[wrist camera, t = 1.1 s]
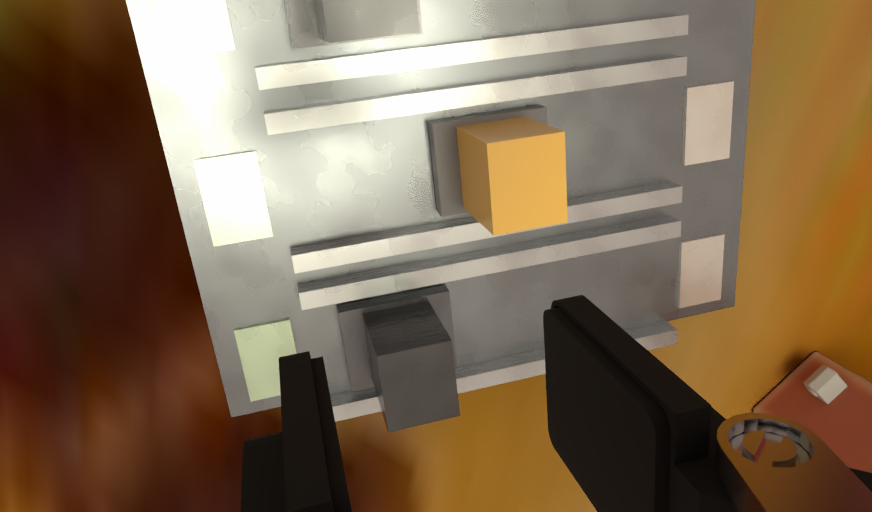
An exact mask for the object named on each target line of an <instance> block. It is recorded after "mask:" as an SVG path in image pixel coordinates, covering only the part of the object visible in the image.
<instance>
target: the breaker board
mask: <svg viewBox="0 0 872 512" xmlns="http://www.w3.org/2000/svg"><path fill="white" fill-rule="evenodd" d="M755 1H756V0H126V3H127V7H128V11H129V15H130V19H131V22H132V26H133V30H134V34H135V38H136V42H137V46H138V50H139V54H140V58H141V62H142V66H143V70H144V74H145V78H146V82H147V86H148V90H149V94H150V98H151V102H152V105H153V109H154V113H155V117H156V121H157V125H158V129H159V133H160V137H161V141H162V145H163V149H164V153H165V157H166V161H167V165H168V169H169V173H170V177H171V181H172V184H173V188H174V192H175V196H176V200H177V204H178V208H179V212H180V216H181V220H182V224H183V228H184V232H185V236H186V240H187V244H188V248H189V252H190V256H191V260H192V263H193V267H194V271H195V275H196V279H197V283H198V287H199V291H200V295H201V299H202V303H203V307H204V311H205V315H206V319H207V323H208V327H209V331H210V335H211V339H212V343H213V346H214V350H215V354H216V358H217V362H218V366H219V370H220V374H221V378H222V382H223V386H224V390H225V394H226V398H227V402H228V406H229V410H230V414H231V417H235V416H239V415H244V414H249V413H253V412H258V411H262V410H267V409H271V408H276V407H280V406H281V394H280V376H279V357H283V356H288V355H292V354H297V353H302V352H307V351H310V356H311V359H313V358H318V357H322V356H323V360H324V365H325V370H326V376H327V381H328V387H329V392H330V397H331V403H332V408H333V413H334V419H335V422H336V421H340V420H345V419H349V418H354V417H358V416H362V415H367V414H371V413H375V412H380V411H382V413H383V417H384V420H385V423H386V426H387V430H388V432H392V431H397V430H401V429H405V428H409V427H414V426H418V425H422V424H426V423H431V422H435V421H439V420H443V419H448V418H452V417H456V416H460V412H459V402H458V394H459V393H463V392H467V391H472V390H476V389H480V388H485V387H489V386H494V385H498V384H502V383H507V382H511V381H515V380H520V379H524V378H529V377H533V376H537V375H542V374H546V370H545V349H544V327H543V314H544V311H545V310H547V309H551V304H552V302H553V301H554V300H559V299H564V298H568V297H573V296H578V295H583V296H585V297H586V298H587V299H589V300H590V301H591V302H592V303H593V304H594V305H596V306H597V307H598V308H599V309H600V310H601V311H602V312H604V313H605V314H606V315H607V316H608V317H609V318H611V319H612V320H613V321H614V322H615V323H616V324H618V325H619V326H620V327H621V328H622V329H623V330H624V331H626V332H627V333H628V334H629V335H630V336H631V337H633V338H634V339H635V340H636V341H637V342H638V343H640V344H641V345H642V346H643V347H644V348H645V349H646V350H651V349H655V348H660V347H664V346H669V345H673V344H677V329H676V328H675V327H673V326H672V325H671V324H669V323H668V322H667V321H670V320H675V319H679V318H684V317H688V316H693V315H697V314H702V313H706V312H711V311H715V310H720V309H724V308H729V307H733V306H734V303H735V289H736V275H737V260H738V246H739V231H740V217H741V203H742V188H743V174H744V159H745V145H746V131H747V116H748V102H749V88H750V73H751V59H752V44H753V30H754V16H755ZM534 105H542V106H545V107H547V122H548V125H549V126H552V127H554V128H557V129H560V130H562V131H565V152H566V185H567V218H568V222H566V223H561V224H555V225H550V226H544V227H539V228H533V229H528V230H522V231H517V232H512V233H506V234H501V235H495V236H493V235H492V234H491V233H490V232H489V231H488V230H487V229H486V228H485V227H484V226H483V225H482V224H480V223H479V222H478V221H477V220H476V219H475V218H474V217H473V216H472V215H471V214H470V213H469V212H468V213H462V214H456V215H451V216H445V217H441V216H440V215H439V213H438V212H437V205H436V195H435V186H434V176H433V167H432V157H431V148H430V138H429V129H428V121H431V120H438V119H445V118H452V117H459V116H466V115H473V114H479V113H486V112H493V111H500V110H507V109H514V108H521V107H528V106H534Z"/></svg>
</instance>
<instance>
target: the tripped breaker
mask: <svg viewBox="0 0 872 512" xmlns="http://www.w3.org/2000/svg"><path fill="white" fill-rule="evenodd" d="M428 129H429V138H430V148H431V157H432V167H433V176H434V186H435V195H436V205H437V212H438V213H439V215H440V216H441V217H445V216H451V215H456V214H462V213H468V212H469V213H470V214H471V215H472V216H473V217H474V218H475V219H476V220H477V221H478V222H479V223H480V224H482V225H483V226H484V227H485V228H486V229H487V230H488V231H489V232H490V233H491V234H492V235H493V236H495V235H501V234H506V233H512V232H517V231H522V230H528V229H533V228H539V227H544V226H550V225H555V224H561V223H566V222H568V218H567V185H566V152H565V131H562V130H560V129H557V128H554V127H552V126H549V125H548V122H547V107H545V106H542V105H534V106H528V107H521V108H514V109H507V110H500V111H493V112H486V113H479V114H473V115H466V116H459V117H452V118H445V119H438V120H431V121H428Z"/></svg>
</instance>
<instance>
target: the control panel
mask: <svg viewBox="0 0 872 512" xmlns="http://www.w3.org/2000/svg"><path fill="white" fill-rule="evenodd" d="M753 412H754V413H765V414H772V415H778V416H781V417H784V418H788V419H791V420H794V421H796V422H798V423H800V424H802V425H804V426H806V427H808V428H809V429H810V430H811V431H813V432H814V433H815V434H816V435H818V436H819V437H820V438H821V439H822V440H823V441H824V443H825V444H826V445H827V446H828V447H829V448H830V449H831V450H832V451H833V452H834V453H835V454H836V455H837V456H838V457H839V458H840V459H841V460H842V461H843V462H844V464H845V465H846V466H847V467H848V468H853V469H857V470H861V471H866V472H870V473H872V383H870V382H869V381H867V380H865V379H864V378H862V377H860V376H859V375H857V374H854V373H852V372H850V371H849V370H847V369H845V368H844V367H842V366H841V365H839V364H837V363H836V362H834V361H832V360H831V359H829V358H827V357H826V356H824V355H822V354H821V353H818V352H814V353H812V354H811V355H810V356H809V357H808V358H807V359H806V360H805V361H804V362H803V363H802V364H801V365H799V366H798V367H797V368H796V369H795V370H794V371H793V372H792V373H791V374H790V375H789V376H788V377H787V378H786V379H784V380H783V381H782V382H781V383H780V384H779V385H778V386H777V387H776V388H775V389H774V390H773V391H772V392H771V393H769V394H768V395H767V396H766V397H765V398H764V399H763V400H762V401H761V402H760V403H759V404H758V405H757V406H756V407H754V409H753Z"/></svg>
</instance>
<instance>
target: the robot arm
mask: <svg viewBox="0 0 872 512" xmlns="http://www.w3.org/2000/svg"><path fill="white" fill-rule="evenodd" d="M543 327H544V349H545V370H546V391H547V412H548V430H549V435H550V439H551V442H552V444H553V446H554V448H555V450H556V451H557V453H558V454H559V456H560V457H561V459H562V460H563V462H564V463H565V465H566V466H567V467H568V469H569V470H570V472H571V473H572V475H573V476H574V478H575V479H576V481H577V482H578V484H579V485H580V487H581V488H582V489H583V491H584V492H585V494H586V495H587V497H588V498H589V500H590V501H591V503H592V504H593V506H594V507H595V509H596V510H597V512H872V473H870V472H866V471H861V470H857V469H853V468H848V467H847V466H846V465H845V464H844V462H843V461H842V460H841V459H840V458H839V457H838V456H837V455H836V454H835V453H834V452H833V451H832V450H831V449H830V448H829V447H828V446H827V445H826V444H825V443H824V441H823V440H822V439H821V438H820V437H819V436H818V435H816V434H815V433H814V432H813V431H811V430H810V429H809V428H808V427H806V426H804V425H802V424H800V423H798V422H796V421H794V420H791V419H788V418H784V417H781V416H778V415H772V414H765V413H745V414H741V415H736V416H732V417H731V418H729V419H727V420H726V419H725V418H724V417H723V416H721V415H720V414H719V413H718V412H717V411H716V410H714V409H713V408H712V407H711V405H710V404H709V403H708V402H707V401H706V400H704V399H703V398H702V397H701V396H700V395H699V394H697V393H696V392H695V391H694V390H693V389H692V388H690V387H689V386H688V385H687V384H686V383H685V382H684V381H682V380H681V379H680V378H679V377H678V376H677V375H675V374H674V373H673V372H672V371H671V370H670V369H668V368H667V367H666V366H665V365H664V364H663V363H662V362H660V361H659V360H658V359H657V358H656V357H655V356H653V355H652V354H651V353H650V352H649V351H648V350H646V349H645V348H644V347H643V346H642V345H641V344H640V343H638V342H637V341H636V340H635V339H634V338H633V337H631V336H630V335H629V334H628V333H627V332H626V331H624V330H623V329H622V328H621V327H620V326H619V325H618V324H616V323H615V322H614V321H613V320H612V319H611V318H609V317H608V316H607V315H606V314H605V313H604V312H602V311H601V310H600V309H599V308H598V307H597V306H596V305H594V304H593V303H592V302H591V301H590V300H589V299H587V298H586V297H585V296H583V295H578V296H573V297H568V298H564V299H559V300H554V301H553V302H552V304H551V309H547V310H545V311H544V314H543ZM279 376H280V394H281V412H282V430H283V432H279V433H274V434H270V435H266V436H261V437H257V438H253V439H248V440H245V441H244V445H243V466H242V493H241V512H352V510H351V505H350V499H349V494H348V489H347V483H346V478H345V473H344V467H343V462H342V456H341V451H340V446H339V440H338V435H337V430H336V424H335V419H334V413H333V408H332V403H331V397H330V392H329V387H328V381H327V376H326V370H325V365H324V360H323V356H322V357H318V358H313V359H311V356H310V351H307V352H302V353H297V354H292V355H288V356H283V357H279Z"/></svg>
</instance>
